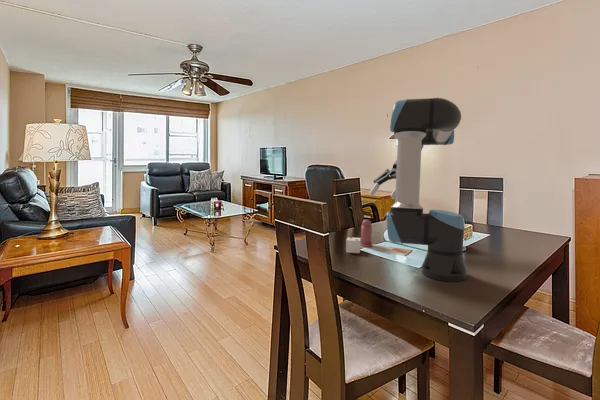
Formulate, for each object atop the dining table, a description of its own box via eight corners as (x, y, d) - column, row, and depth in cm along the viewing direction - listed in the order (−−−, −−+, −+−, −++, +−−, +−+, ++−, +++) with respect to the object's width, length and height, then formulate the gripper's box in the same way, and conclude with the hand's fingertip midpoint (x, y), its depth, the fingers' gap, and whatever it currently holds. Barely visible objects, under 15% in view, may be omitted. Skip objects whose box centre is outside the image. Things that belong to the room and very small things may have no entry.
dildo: (369, 247, 154) (370, 221, 153) (357, 245, 158) (358, 219, 156) (374, 245, 159) (375, 219, 158) (362, 243, 163) (363, 217, 161)
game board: (405, 255, 143) (405, 254, 143) (353, 247, 157) (353, 246, 157) (411, 250, 151) (411, 250, 150) (361, 243, 165) (361, 242, 165)
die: (359, 254, 146) (359, 240, 145) (346, 253, 147) (346, 239, 146) (360, 250, 151) (360, 237, 151) (347, 249, 153) (347, 236, 152)
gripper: (427, 170, 157) (405, 203, 152) (387, 168, 178) (367, 197, 172) (420, 159, 154) (397, 193, 148) (381, 158, 175) (359, 188, 169)
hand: (381, 195), depth 160 cm, fingers open, 13 cm apart
